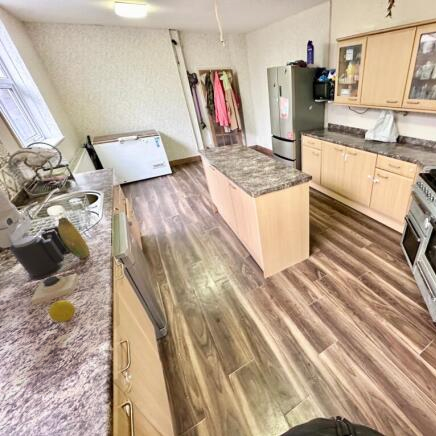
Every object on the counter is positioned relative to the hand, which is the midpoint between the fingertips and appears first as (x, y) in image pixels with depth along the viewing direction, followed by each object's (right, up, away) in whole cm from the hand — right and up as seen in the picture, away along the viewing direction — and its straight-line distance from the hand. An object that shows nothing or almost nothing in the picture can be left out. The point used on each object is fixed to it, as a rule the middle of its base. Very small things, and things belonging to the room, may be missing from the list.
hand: (25, 244), depth 100 cm
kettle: (+14, -11, -5) cm, 18 cm away
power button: (+28, -12, -16) cm, 35 cm away
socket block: (+28, -15, -14) cm, 35 cm away
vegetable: (+23, -6, +3) cm, 24 cm away
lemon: (+44, -21, -26) cm, 55 cm away
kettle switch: (+5, +2, +2) cm, 5 cm away
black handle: (+9, -4, +8) cm, 12 cm away
